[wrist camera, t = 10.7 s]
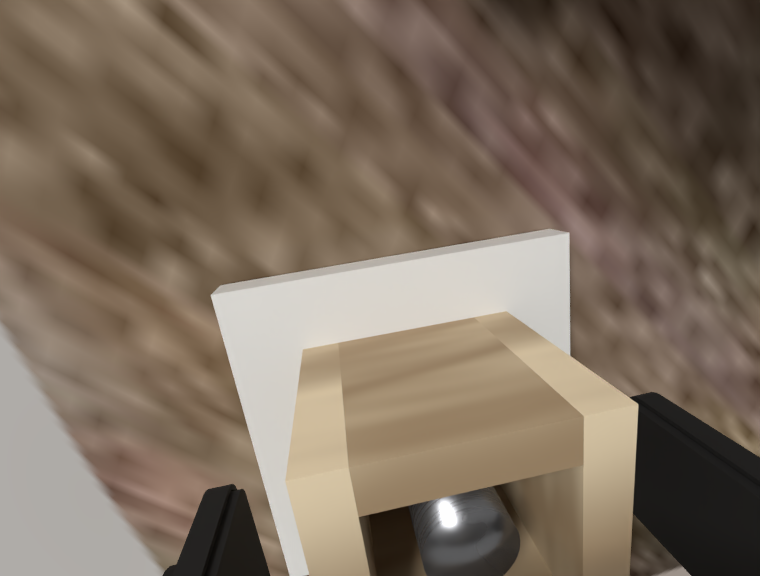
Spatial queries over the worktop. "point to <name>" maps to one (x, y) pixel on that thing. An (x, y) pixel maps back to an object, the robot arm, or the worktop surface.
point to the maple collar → (460, 448)
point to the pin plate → (382, 316)
